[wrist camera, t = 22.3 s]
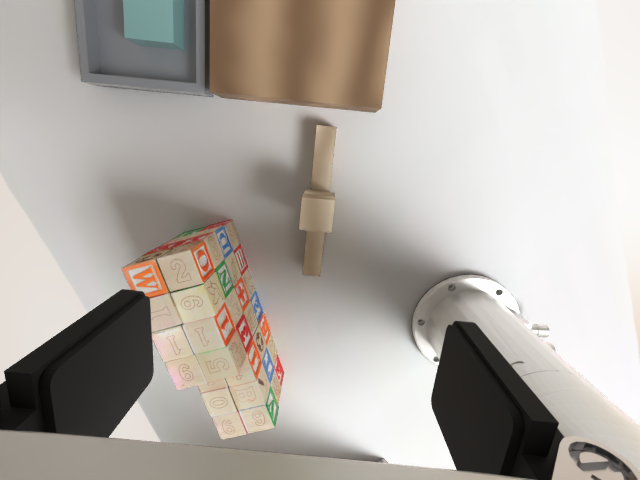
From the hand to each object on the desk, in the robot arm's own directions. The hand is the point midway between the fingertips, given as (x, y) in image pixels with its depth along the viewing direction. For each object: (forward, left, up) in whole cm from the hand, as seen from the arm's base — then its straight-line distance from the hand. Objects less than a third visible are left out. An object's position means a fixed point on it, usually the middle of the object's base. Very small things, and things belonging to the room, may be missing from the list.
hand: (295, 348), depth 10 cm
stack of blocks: (+9, +14, -29) cm, 33 cm away
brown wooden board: (+3, -20, -28) cm, 35 cm away
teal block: (+17, -16, -25) cm, 34 cm away
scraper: (0, 0, -29) cm, 29 cm away
